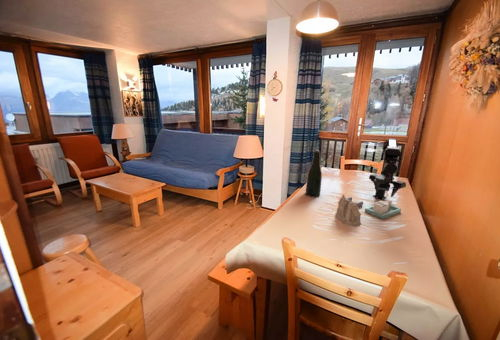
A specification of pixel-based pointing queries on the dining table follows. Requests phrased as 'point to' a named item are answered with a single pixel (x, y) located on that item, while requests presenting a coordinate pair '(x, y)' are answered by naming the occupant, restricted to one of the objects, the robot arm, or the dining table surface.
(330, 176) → the dining table surface
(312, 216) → the dining table surface
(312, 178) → the beer bottle
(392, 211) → the tray
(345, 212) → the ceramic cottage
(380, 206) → the teal striped block
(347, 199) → the bay
